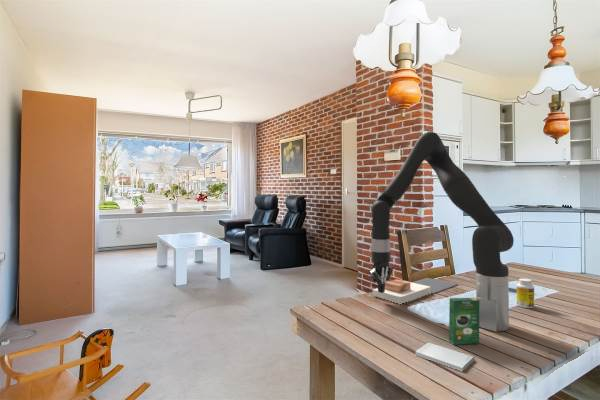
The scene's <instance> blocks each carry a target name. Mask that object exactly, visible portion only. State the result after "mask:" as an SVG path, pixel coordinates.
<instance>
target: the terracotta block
mask: <svg viewBox="0 0 600 400" xmlns="http://www.w3.org/2000/svg"><path fill="white" fill-rule="evenodd" d="M406 281H407V280H401V279H393V280H388V281H386V283H385V290H389V291H393V292H396V293H401V292H404V291H407V290H410V282H411V281H408V282H406Z"/></svg>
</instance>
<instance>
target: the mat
mask: <svg viewBox="0 0 600 400" xmlns="http://www.w3.org/2000/svg"><path fill="white" fill-rule="evenodd" d="M412 283H416V284H421V285H425V286H430V287H431V294H430V295H435V294H437V292H438V293H440V292H443V291H445V290H448V289H451V288H454V287H457V286H459V283H457V282H456V283H455V282H450V281H446V280H442V279H441V280H440V279H435V278H431V277H425V278H422V279H419V280H415V281H412ZM434 293H435V294H434Z"/></svg>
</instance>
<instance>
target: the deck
mask: <svg viewBox="0 0 600 400" xmlns="http://www.w3.org/2000/svg"><path fill="white" fill-rule="evenodd" d="M405 281H406V282H410V290H407V291H404V292H401V293H396V292H393V291H389V290H385V292H383V293H380V292H378V287H376V288H373V289H372V296H373V295H375V296H378V297H380V298H383V299H386V300H389V301H388V302H390V301H392V302H391V303H393V302H395V303H394V304H396V303H398V304H397V305H400V304H401V305H403V304H402V303H404V304H406V303H405V302H407V303H409V302H412V301H415V300H417V298H418V299H420V298H422V296H423V297H425V295H426V296H428V294H429V295H432V294H431V287H430V286H425V285H421V284H416V283H412V282H413V281H412V282H411V281H407V280H405ZM383 299H382V300H383ZM386 300H385V301H386ZM408 301H409V302H408Z"/></svg>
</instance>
